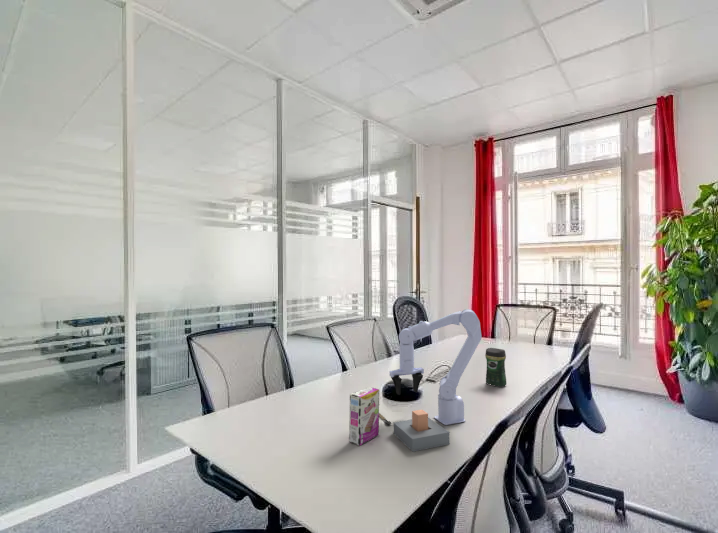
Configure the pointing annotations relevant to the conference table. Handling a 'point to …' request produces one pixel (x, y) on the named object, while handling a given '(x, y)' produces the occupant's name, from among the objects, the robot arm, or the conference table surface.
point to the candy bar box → (364, 415)
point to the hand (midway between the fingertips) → (407, 392)
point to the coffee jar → (495, 367)
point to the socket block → (421, 435)
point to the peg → (419, 420)
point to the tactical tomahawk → (384, 419)
